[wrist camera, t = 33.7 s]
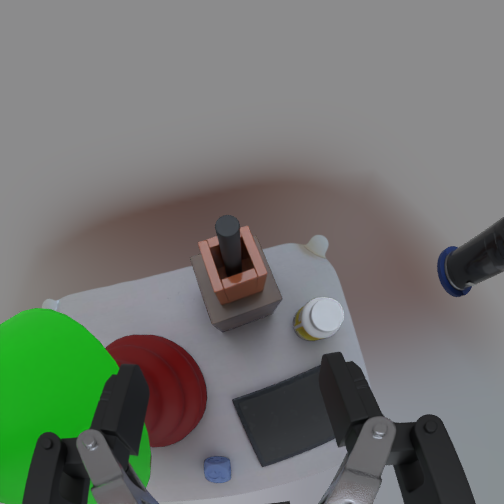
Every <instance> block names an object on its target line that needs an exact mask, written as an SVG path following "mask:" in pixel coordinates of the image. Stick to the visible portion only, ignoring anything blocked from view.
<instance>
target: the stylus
mask: <svg viewBox="0 0 504 504" xmlns="http://www.w3.org/2000/svg"><path fill="white" fill-rule="evenodd" d="M215 229H216V233H217V237H218V242H219V246H220V250H221V254H222V258H223V262H224V266H225V270H226V274H227V277H230V276H233V275H236V274H238V273H241V272H242V261H241V243H240V224H239V221H238V220H237V218H235V217H234V216H231V215H225V216H222V217H220V218H219V219H218V220H217V222H216V224H215Z"/></svg>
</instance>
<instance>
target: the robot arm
mask: <svg viewBox="0 0 504 504" xmlns="http://www.w3.org/2000/svg"><path fill="white" fill-rule="evenodd" d="M444 267H445V273H446V277H447V279H448V281H449V283H450V284H451V285H452V286H453V287H454V288H455V289H457V290H464V289H466V288H468V287H470V286H475V285H477V283H480V282H482V281H484V280H486V279H488V278H491V277H493V276H495V275H497V274H499V273H501V272H503V271H504V217H503V218H501V219H500V220H499V221H497V222H496V223H494V224H493V225H492V226H490V227H489V228H487V229H486V230H485V231H483V232H482V233H480V234H479V235H477V236H476V237H474V238H473V239H471V240H470V241H469V242H467V243H465V244H464V245H462V246H460V247H459V248H457V249H456V250H454V251H452V252H450V253H449V254H448V255H447V256H446V259H445V265H444ZM319 387H320V391H321V394H322V397H323V400H324V403H325V407H326V410H327V413H328V416H329V419H330V423H331V426H332V429H333V432H334V436H335V439H336V442H337V445H338V447H342V446H346V448H347V451H348V452H347V454H346V456H345V458H344V460H343V462H342V464H341V466H340V468H339V470H338V472H337V474H336V476H335V477H334V479H333V481H332V483H331V485H330V486H329V488H328V489H327V491H326V493H325V494H324V495H323V497H322V499H321V500H320V502H319V503H318V504H372V503H373V501H374V499H375V497H376V494H377V492H378V490H379V488H380V485H381V482H382V479H381V474H382V471H383V469H384V467H385V465H393V466H394V469H395V473H396V476H397V480H398V483H399V486H400V490H401V493H402V497H403V500H404V504H476V503H475V500H474V497H473V494H472V492H471V489H470V486H469V483H468V481H467V478H466V475H465V473H464V470H463V467H462V465H461V463H460V460H459V458H458V455H457V453H456V451H455V448H454V446H453V444H452V441H451V440H450V437H449V435H448V433H447V430H446V428H445V426H444V424H443V422H442V421H441V419H440V418H439V417H437V416H435V415H430V414H429V415H424V416H422V417H420V418H419V419H418V420H417V422H410V423H395V422H392V421H391V420H390V419H388V418H386V417H384V416H383V414H382V413H381V411H380V408H379V406H378V404H377V402H376V400H375V397H374V396H373V393H372V391H371V389H370V387H369V385H368V383H367V380H365V376H364V374H363V372H362V370H361V368H360V367H359V366H357V365H356V364H355V363H354V362H353V361H351V362H345V360H344V357H343V355H342V353H341V352H335V353H329V354H324V355H323V356H322V361H321V367H320V372H319ZM149 397H150V391H149V386H148V383H147V381H146V379H145V377H144V375H143V373H142V371H141V368H140V366H139V365H137V364H121V366H120V368H119V371H118V373H117V375H116V374H112V375H111V376H110V378H109V379H108V380H107V381H106V382H105V385H104V388H103V390H102V393H101V396H100V401H99V402H98V405H97V408H96V410H95V413H94V417H93V420H92V423H91V426H90V428H89V430H85V431H83V432H82V433H80V434H79V436H78V437H76V438H62V439H60V438H59V437H58V436H57V435H56V434H55V433H52V432H45V433H43V434H42V435H40V436H39V438H38V440H37V443H36V446H35V449H34V453H33V456H32V460H31V464H30V468H29V472H28V476H27V480H26V485H25V490H24V495H23V501H22V504H87V503H88V494H89V487H90V480H91V482H92V484H93V487H92V488H91V492H92V495H93V497H94V499H95V501H96V503H97V504H159V503H158V502H157V501H156V500H155V499H154V498H153V497H152V496H151V494H150V493H149V492H148V491H147V489H146V488H145V486H144V485H143V483H142V482H141V480H140V479H139V477H138V475H137V474H136V472H135V471H134V469H133V467H132V466H131V464H130V463H129V456H130V455H134V456H138V454H139V448H140V442H141V437H142V431H143V426H144V421H145V416H146V411H147V406H148V402H149ZM272 504H290V502H289V501H287V502H280V503H272Z"/></svg>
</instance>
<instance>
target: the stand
mask: <svg viewBox="0 0 504 504" xmlns="http://www.w3.org/2000/svg"><path fill="white" fill-rule="evenodd" d="M253 239H254V241H255V243H256V246H257V248H258V251H259V253H260V255H261V258H262V260H263V263H264V265H265V268H266V270H267V272H268V274H267V278H266V282H265V285H264V289H263V291H260V292H258V293H255V294H252V295H249V296H247V297H244V298H241V299H238V300H236V301H233V302H230V303H227V304H224V305H221V304H220V302H219V300H218V299H217V297H216V295H215V293H214V291H213V288H212V285H211V282H210V279H209V276H208V273H207V270H206V267H205V264H204V261H203V258H202V255H201V254H198V255H196V256H193V257H190V260H191V263H192V266H193V269H194V272H195V275H196V278H197V282H198V285H199V288H200V291H201V294H202V297H203V300H204V303H205V305H206V308H207V311H208V314H209V317H210V320H211V323H212V325H214V326H215V327H216V328H218V329H219V330H220V331H222V332H224V331H227V330H230V329H233V328H236V327H239V326H241V325H244V324H247V323H250V322H252V321H255V320H258V319H260V318H263V317H266V316H268V315H271V314H272V313H273V312H274V310H275V309H276V308H277V306H278V305H279V303H280V302H281V300H282V296H281V294H280V291H279V289H278V286H277V284H276V282H275V279H274V277H273V274H272V272H271V270H270V267H269V265H268V262H267V260H266V258H265V255H264V253H263V250H262V248H261V246H260V243H259V241H258V238H257V236H256V235H253Z"/></svg>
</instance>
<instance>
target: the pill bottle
mask: <svg viewBox="0 0 504 504" xmlns="http://www.w3.org/2000/svg"><path fill="white" fill-rule="evenodd" d="M343 319H344V311H343V308H342V306H341V304H340V303H339V302H338V301H336V300H335V299H332V298H326V297H318V298H314V299H312V300H311V301H309V302H308V303H307V304H306V305H305V306H303V307H302V308H301V309H300V310H299V311H298V312H297V313H296V315H295V317H294V321H293V326H294V330H295V332H296V334H297V335H298V336H299V337H300V338H302V339H304V340H307V341H315V340H319V339H324V338H328V337H330V336H332V335H333V334H335V333H336V332H337V331H338V329H339V328H340V325H341V324H342V322H343Z"/></svg>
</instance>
